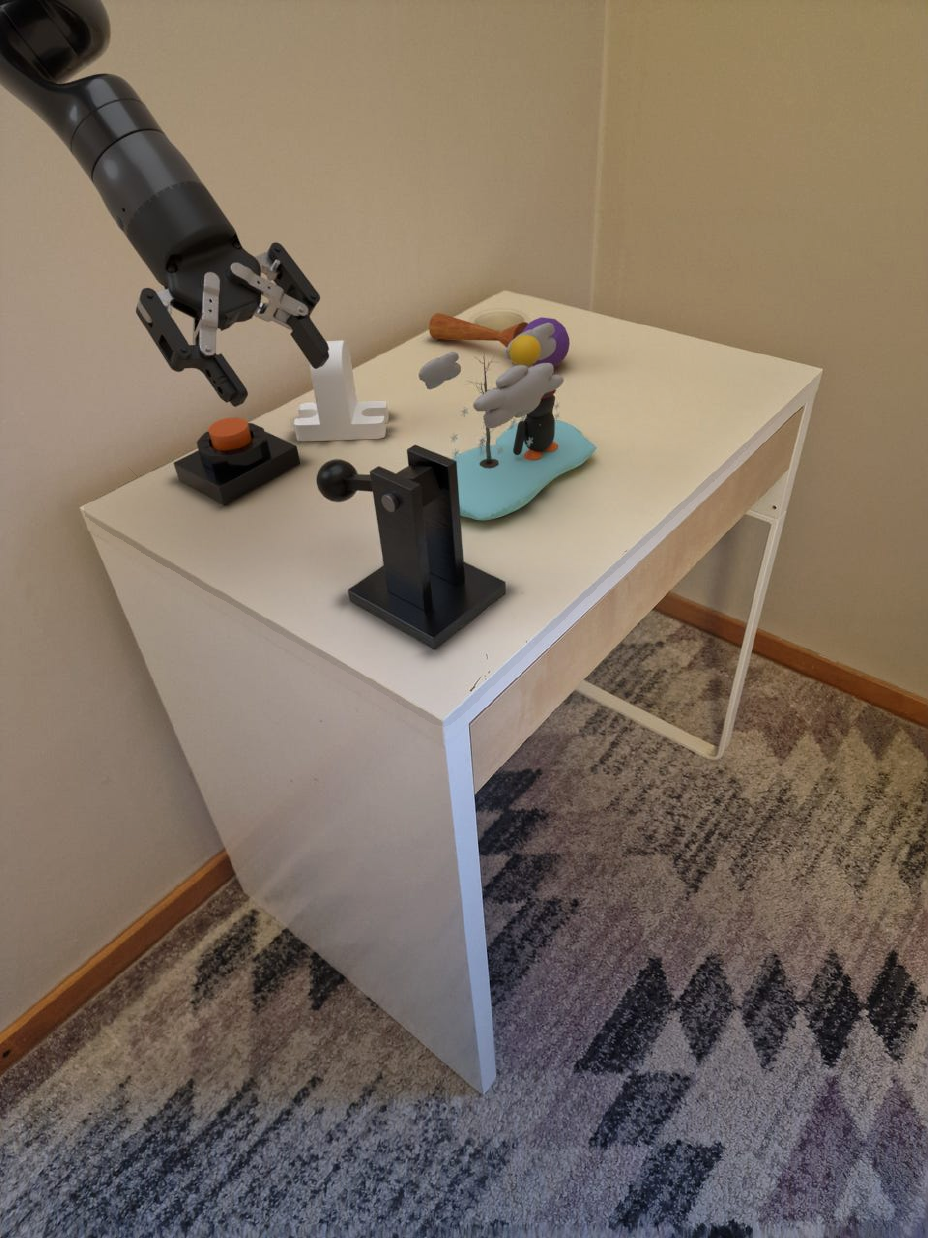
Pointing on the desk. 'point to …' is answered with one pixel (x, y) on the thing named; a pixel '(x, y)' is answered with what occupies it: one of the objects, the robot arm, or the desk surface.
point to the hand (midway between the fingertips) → (284, 381)
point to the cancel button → (230, 433)
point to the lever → (369, 481)
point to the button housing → (236, 465)
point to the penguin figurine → (514, 430)
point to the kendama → (498, 334)
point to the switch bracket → (423, 557)
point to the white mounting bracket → (339, 404)
